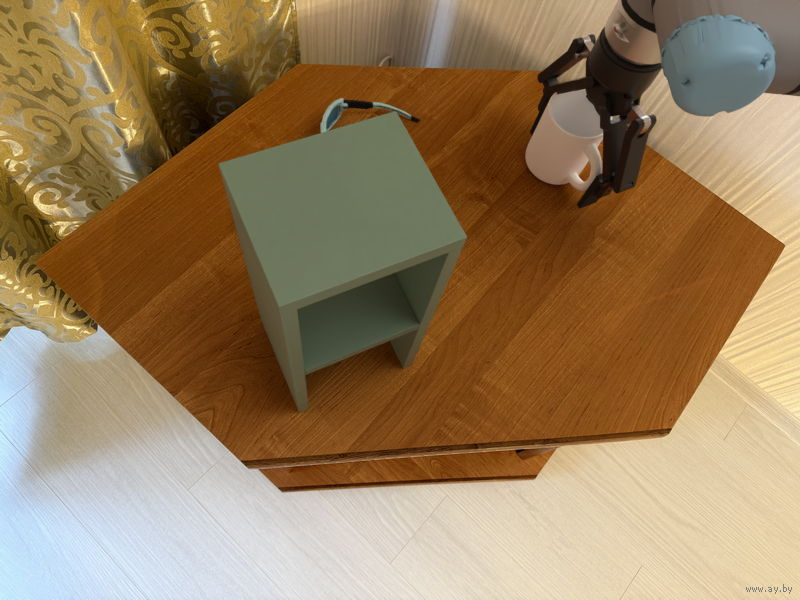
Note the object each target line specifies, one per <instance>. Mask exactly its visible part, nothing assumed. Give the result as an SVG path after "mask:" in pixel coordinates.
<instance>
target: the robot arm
mask: <svg viewBox="0 0 800 600" xmlns="http://www.w3.org/2000/svg"><path fill="white" fill-rule="evenodd" d="M582 60H585V76H582V77H577V78H574V79H569V80H566V81H561V82H559V80H558V78H560V77H561V76H563V74H565V73H567V72H568V71H569V70H570V69H572V68H573V67H574V66H576V65H577V64H579V62H581V61H582ZM661 72H663V76H664V78H666V80H667V84H668V87H669V91H670V94H671V97H672V100H673V102H674V103H675V104H676V106H677V107H678V108H679V109H681V110H682V111H683V112H685V113H687V114H689V115H693V116H695V117H696V116H697V117H714V116H716V115H717V114H719V113H722V112H725V113H726V114H730V113H733V112H736V111H739V110H742V109H743V108H745V107H747V106H748V105H751V104H752V103H753V102H755V101H756V100H757V99H758V98H760V97H761V96H762V95H763V94H770V95H782V96H783V95H784V96H793V97H800V0H616V3H615V5H614V6H613V8H612V10H611V12H610V14H609V16H608V17H607V20H606V22H605V24H604V27H603V28H602V29H601V31H600V33H599V35H598V37H596V35H595V34H594V33H591V34H587V35H583V36H580V37H577V38H574V39H573V40H572V41H571V43H570V45H569V47H568V49H567V51H566V52H564V53H563V54H562V55H560V56H559V57H558V58H556V60H554V61H553V62H552V63H550V64H549V65H548V66H547V67H545V68H544V69H542V71H540V72H539V73H538V74H537V76H536V77H537V79H536V80H537V82H538V83H539V84H542V85H543V89H542V96H541V99H540V100H539V103H538V106H537V111H538V113H537V115H536V117H535V119H534V122H533V123H532V126H531V128H530V130H529V134H530V135H531V136H532V135H533V133H534V131H535V129H536V127H537V125H538V123H539V121H540V119H541V117H542V115H543V113H544V111H545V109H546V106H547V104H548V102H549V100H550V98H551V97H552V95H553V94H554V93H555V92H557V95H558V94H563V93H567V92H572V91H578V90H583V89H585V90H586V94H587V95H586V98H587V99H588V100H589V102H591V103H592V104H593V105H594V107H595V110H596V112H597V113H598V114H599V116H600V128H601V129H603V140H602V173H601V174H600V175H597V176H596V177H595V179H594V180H593V182H592V183H591V184H590V186H589V187H588V189H587V190H586V191H585V192H583V195H582V196H581V197H580V199H579V200H578V202H577V203H576V206H577V207H578V209H582V208H586V207H589V206H591V205H593V204H596V203H597V202H598V200H600V199H602V198H604V197H607V196H610V194H611V193H613V192H614V193H615V194H620V193H623V192H626V191H628V190H631V189H633V188H635V187H636V185H637V181H638V177H639V173H640V169H641V166H642V161H643V159H644V155H645V150H646V146H647V144H648V143H647V142H648V138H649V136H650V135H649V134H650V133H651V131H652V130H653V128H654V127H655V125H656V123H657V121H658V120H657V115H655V114H654V113H649V114H648V115H647V114H646V113H645V112H644V110H643V109H642V108H641V105H640V104H641V100H642V96H643V94H644V93H645V92H646V91H647V90H648V89H649V88H650V87H651V85H652V84H653V83H654V81H655V80H656V79H657V77H658V75H659V74H660V73H661ZM611 117H612V120H611ZM613 117H616V118H613Z"/></svg>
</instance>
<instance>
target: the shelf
mask: <svg viewBox="0 0 800 600" xmlns="http://www.w3.org/2000/svg"><path fill="white" fill-rule="evenodd" d="M218 168H219V172H220V176H221V179H222V183H223V187H224V190H225V194H226V198H227V201H228V204H229V208H230V212H231V215H232V220H233V223H234V226H235V230H236V234H237V238H238V241H239V245H240V249H241V252H242V255H243V259H244V263H245V265H246V267H245V268H246V270H247V273H248V277H249V281H250V284H251V285H250V286H251V289H252V292H253V296H254V299H255V303H256V306H257V310H258V315H259V318H260V321H261V323H262V326H263V328H264V331H265V333H266V336H267V338H268V340H269V343H270V345H271V348H272V351H273V353H274V355H275V358H276V360H277V362H278V365H279V367H280V370H281V372H282V375H283V378H284V380H285V383H286V385H287V387H288V390H289V393H290V394H291V397H292V399H293V402H294V405H295V407H296V409H297V411H298V413H302V412H304V411H307V410H309V409H310V405H309V399H308V397H309V396H308V388H307V380H306V376H307V375H309V374H313V373H314V372H317V371H319V370H322V369H324V368H326V367H329V366H332V365H334V364H336V363H338V362H341V361H344V360H346V359H349V358H350V357H351V358H352V357H353V356H356V355H359V354H361V353H363V352H366V351H368V350H370V349H373V348H376V347H378V346H380V345H383V344H386V343H387V342H389V343H390V344H391V345H390V346H391V347H392V348H393V349H392V350H393V351H394V353H395V355H396V357H397V359H398V362H399V363H400V365H401V367H402V369H406V368H408V367H410V366H412V365H413V363H414V361H415V360H416V356H417V354H418V352H419V350H420V347H421V345H422V342H423V340H424V338H425V336H426V333H427V331H428V329H429V327H430V324H431V322H432V320H433V318H434V315H435V312H436V310H437V308H438V306H439V304H440V301H441V299H442V297H443V294H444V292H445V290H446V287H447V285H448V283H449V281H450V278H451V276H452V273H453V271H454V269H455V266H456V265H457V262H458V260H459V257H460V255H461V253H462V251H463V248H464V246H465V243H466V241H467V239H468V236H467V233H465V231H464V229H463V227H462V225H461V223H460V222H459V220H458V218H457V217H456V215H455V212H453V209H452V207H451V206H450V204H449V202H448V201H447V199H446V197H445V195H444V193H443V192H442V190H441V188H440V187H439V185H438V183H437V181H436V180H435V178H434V176H433V174H432V172H431V170H430V169H429V167H428V165H427V164H426V162H425V160H424V158H423V156H422V155H421V153H420V151H419V149H418V148H417V146H416V144H415V143H414V141H413V138H412V137H411V135H410V133H409V132H408V130H407V128H406V126H405V125H404V123H403V121H402V119H401V118H400V116H399V114H398V113H397V112H396V111H394V112H392V111H389V112H387V113H384V114H381V115H377V116H374V117H370V118H367V119H364V120H361V121H356V122H354V123H349V124H346V125H343V126H340V127H337V128H334V129H330V130H329V131H326V132H323V133H317V134H313V135H310V136H307V137H303V138H299V139H296V140H293V141H289V142H286V143H282V144H279V145H276V146H272V147H269V148H266V149H262V150H259V151H256V152H253V153H249V154H245V155H242V156H238V157H235V158H232V159H229V160H225V161H222V162H219V163H218Z"/></svg>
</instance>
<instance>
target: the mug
mask: <svg viewBox="0 0 800 600" xmlns="http://www.w3.org/2000/svg"><path fill="white" fill-rule="evenodd" d="M586 95H587V94H586V90H585V89H583V90H578V91H572V92H567V93H563V94H558V95H557V92H555V93H554V94H553V95H552V97H551V98H550V100H549V102H548V104H547V106H546V109H545V111H544V113H543V115H542V117H541V119H540V121H539V123H538V125H537V127H536V129H535V131H534V133H533V135H531V137H530V140H529V141H528V144H527V147H526V149H525V153H524V154H525V156H524V157H525V163H526V166H527V168H528V170H529V172H531V174H533V176H534V177H536V178H537V179H538V180H540V181H542V182H544V183H546V184H550V185H554V186H555V185H556V186H557V185H558V186H560V185H566V184H570V186H571V187H572V188H574V190H577V191H579V192H583V193H585V192H586V190H587V189H588V187H589V186H590V184H591V183H592V182H593V180H594V179H595V177H596V176H597V175H600V174H602V172H603V159H602V155H601V153H600V150H599V149H598V148H599V146H600V144H601V143H602V142H603V129H601V128H600V116H599V114H598V113H597V112H596V110H595V107H594V105H593V104H592V103H591V102H589V100H588V99H587V98H586ZM612 119H613V116H612V117H611V120H612ZM588 163H589V165H590V170H589V171H590V173H589V176H588V178H587V180H585V181H584V180H582V178H580V174H581V173H582V172H583V170H584V169H585V167H586V166H587V164H588Z"/></svg>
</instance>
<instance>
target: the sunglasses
mask: <svg viewBox="0 0 800 600" xmlns="http://www.w3.org/2000/svg"><path fill="white" fill-rule="evenodd" d="M348 109H357V110H370V109H382V110H386V111H389V112H394V111H396V112H397V114H398V115H400V116H402V117H404V118H405V119H409V120H410V121H412V122H415V123H417V122H420V121H421V118H418V117H416V116H414V115H412V114H410V113H408V112H406V111H405V110H402V109H400V108H397V107H395V106H392V105H390V104H387V103H383V102H380V101H366V100H357V99H344V97H340V98H338V99H335V100H334V101H332V102H331V103H330V105H328V106H327V108H326V110H325V112H324V113H323V115H322V120H321V122H320V124H319V125H320V133H323V132H326V131H330V130H332V127H333V126H334V125H335V124H336V123H337V122H338V121H339V120H340V118H341V117H342V113H343V111H348Z"/></svg>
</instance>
